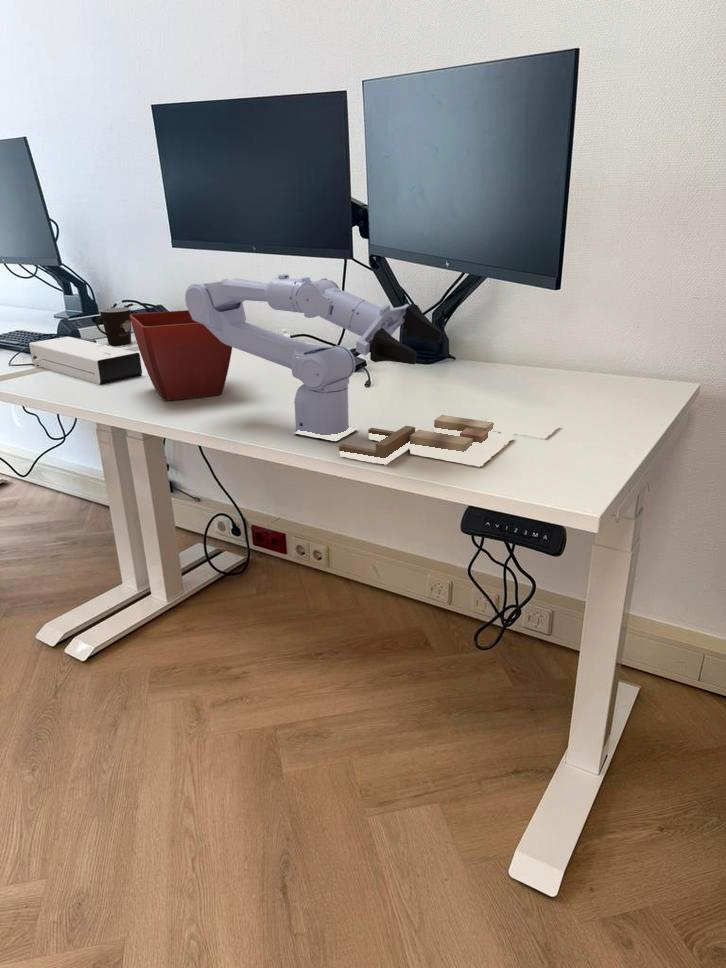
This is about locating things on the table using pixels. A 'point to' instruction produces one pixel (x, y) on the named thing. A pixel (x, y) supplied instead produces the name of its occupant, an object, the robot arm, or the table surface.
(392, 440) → the wooden c-shaped piece
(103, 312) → the coffee mug
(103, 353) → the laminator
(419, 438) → the wooden u-shaped block
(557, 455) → the table surface
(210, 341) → the plant pot
